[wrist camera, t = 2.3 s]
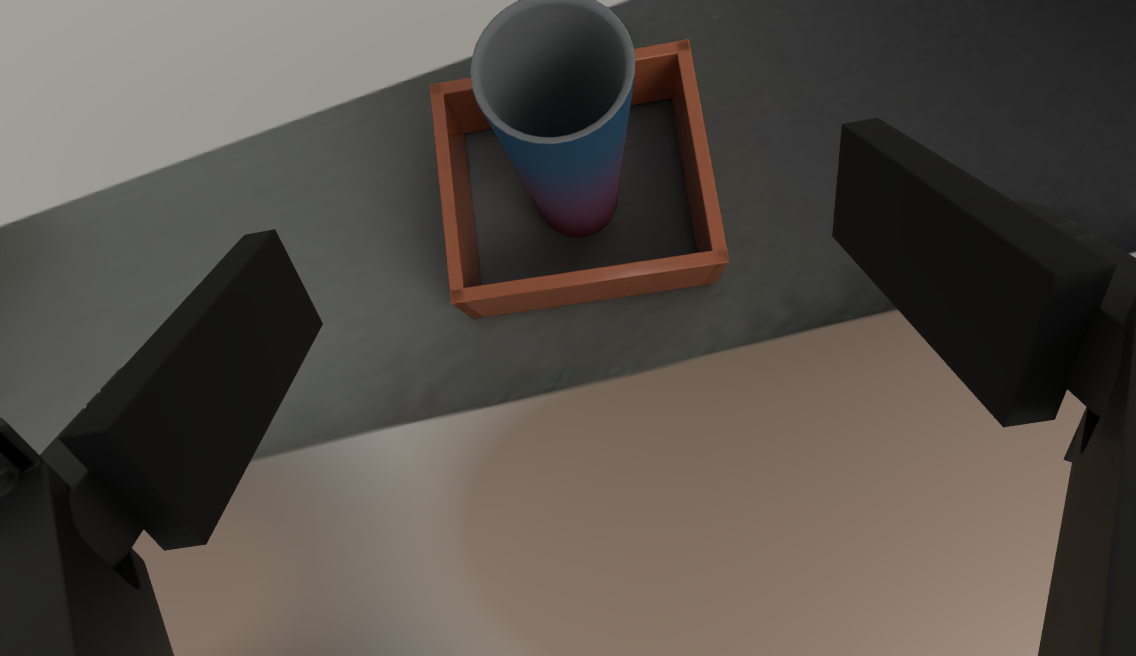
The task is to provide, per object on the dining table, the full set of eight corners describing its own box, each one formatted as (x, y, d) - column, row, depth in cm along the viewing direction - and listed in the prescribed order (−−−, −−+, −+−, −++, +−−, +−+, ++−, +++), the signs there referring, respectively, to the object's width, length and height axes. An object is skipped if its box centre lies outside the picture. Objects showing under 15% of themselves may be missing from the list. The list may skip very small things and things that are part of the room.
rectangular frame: (472, 318, 39) (450, 303, 34) (452, 124, 41) (429, 84, 36) (715, 283, 37) (729, 262, 33) (680, 86, 40) (689, 38, 35)
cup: (517, 166, 40) (455, 15, 25) (616, 140, 40) (613, -29, 25) (539, 262, 39) (488, 162, 24) (641, 236, 38) (654, 119, 24)
